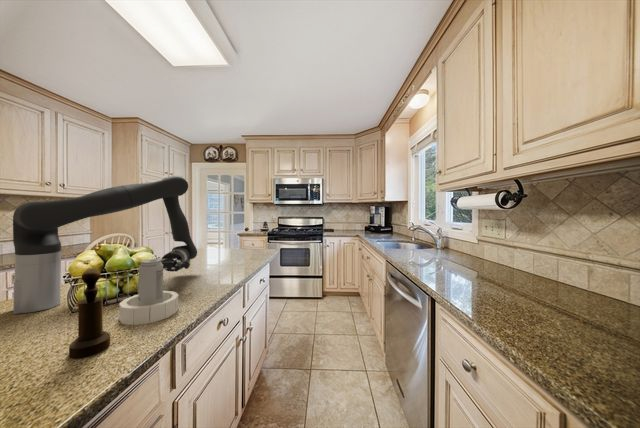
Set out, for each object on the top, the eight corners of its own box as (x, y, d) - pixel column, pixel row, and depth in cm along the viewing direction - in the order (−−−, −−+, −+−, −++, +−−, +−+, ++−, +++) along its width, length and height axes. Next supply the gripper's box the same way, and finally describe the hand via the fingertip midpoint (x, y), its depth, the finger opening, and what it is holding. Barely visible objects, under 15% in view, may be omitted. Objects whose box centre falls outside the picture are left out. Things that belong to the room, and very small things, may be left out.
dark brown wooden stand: (78, 345, 54) (79, 267, 53) (114, 339, 56) (115, 265, 56) (61, 362, 48) (62, 274, 47) (103, 354, 50) (104, 271, 50)
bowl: (125, 330, 61) (126, 312, 60) (115, 314, 70) (115, 299, 70) (184, 313, 71) (184, 298, 71) (168, 301, 80) (169, 288, 80)
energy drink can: (143, 307, 73) (144, 259, 72) (165, 305, 74) (166, 258, 74) (134, 315, 67) (134, 263, 67) (158, 313, 68) (159, 262, 68)
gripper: (154, 251, 93) (137, 259, 78) (194, 250, 97) (185, 257, 82) (154, 269, 93) (136, 281, 78) (194, 267, 97) (185, 278, 82)
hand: (161, 269), depth 80 cm, fingers open, 8 cm apart
